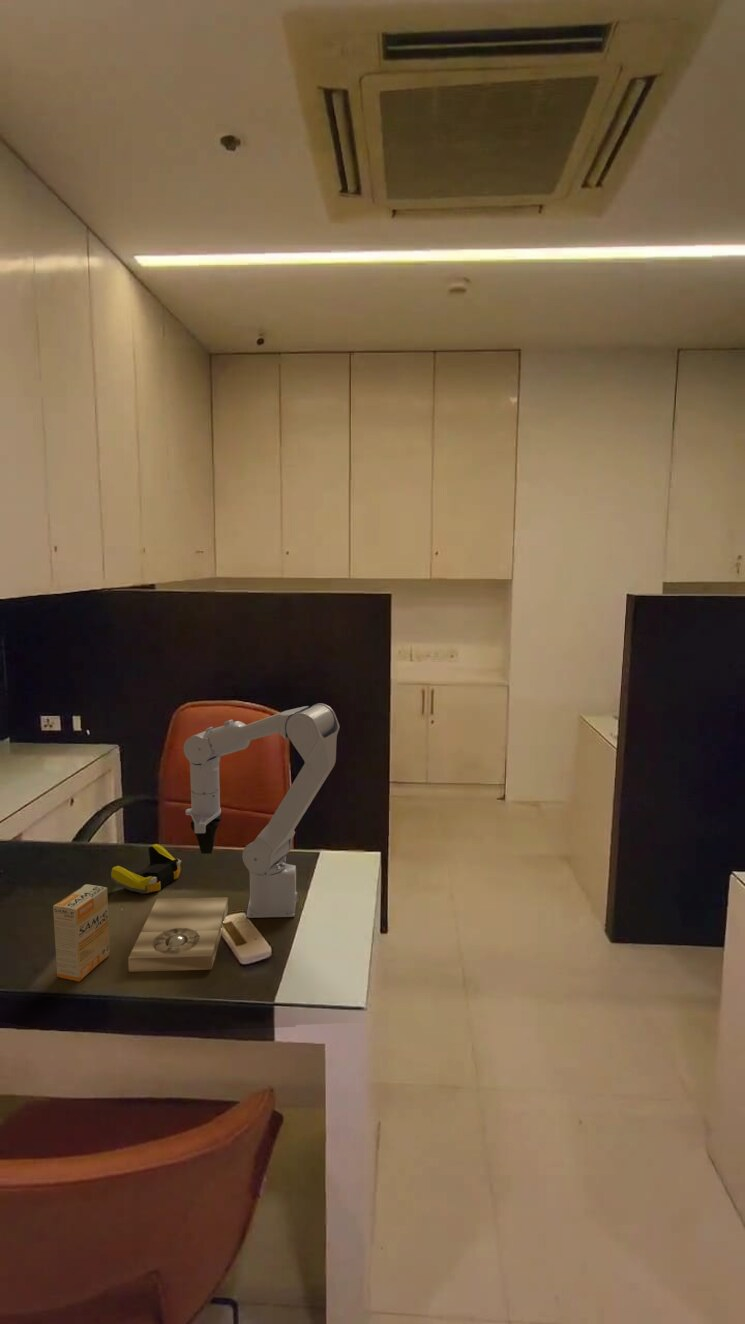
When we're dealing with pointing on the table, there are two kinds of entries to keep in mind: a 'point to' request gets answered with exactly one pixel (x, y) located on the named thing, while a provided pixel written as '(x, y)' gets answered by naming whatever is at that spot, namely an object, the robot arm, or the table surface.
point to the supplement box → (81, 931)
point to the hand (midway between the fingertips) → (206, 852)
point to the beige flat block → (183, 918)
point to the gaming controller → (149, 872)
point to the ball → (176, 941)
